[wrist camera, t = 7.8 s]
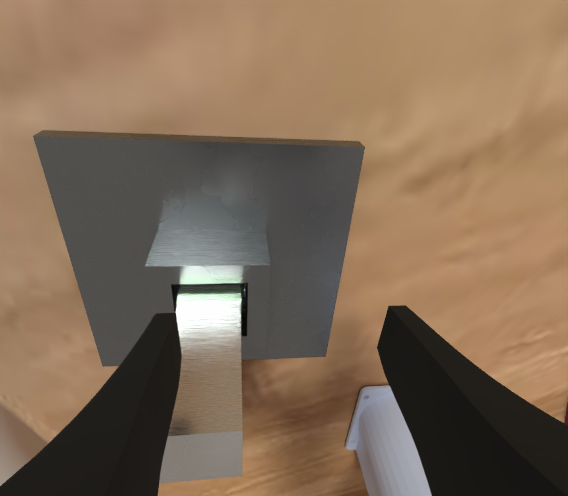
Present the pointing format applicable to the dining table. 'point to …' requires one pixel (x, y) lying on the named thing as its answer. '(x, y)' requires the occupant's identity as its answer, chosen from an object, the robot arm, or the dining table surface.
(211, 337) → the post
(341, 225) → the stand
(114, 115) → the dining table surface
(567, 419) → the dark red bent panel
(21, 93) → the dining table surface
